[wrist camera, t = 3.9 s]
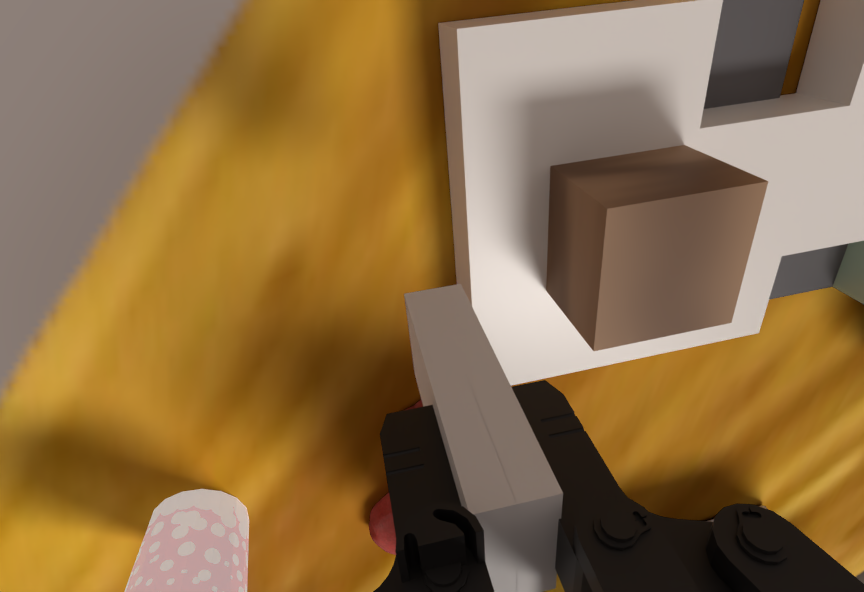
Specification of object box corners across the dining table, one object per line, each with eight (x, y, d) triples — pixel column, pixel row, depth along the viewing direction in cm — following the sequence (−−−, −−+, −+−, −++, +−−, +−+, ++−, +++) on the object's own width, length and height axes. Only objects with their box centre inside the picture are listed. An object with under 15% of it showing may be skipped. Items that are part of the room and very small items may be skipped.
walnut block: (546, 290, 21) (593, 351, 17) (550, 165, 18) (607, 208, 15) (663, 268, 21) (731, 322, 18) (684, 144, 19) (768, 181, 15)
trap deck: (462, 357, 25) (476, 392, 23) (438, 22, 17) (456, 28, 15) (950, 258, 28) (1002, 281, 26) (1105, -55, 21) (1195, -59, 19)
